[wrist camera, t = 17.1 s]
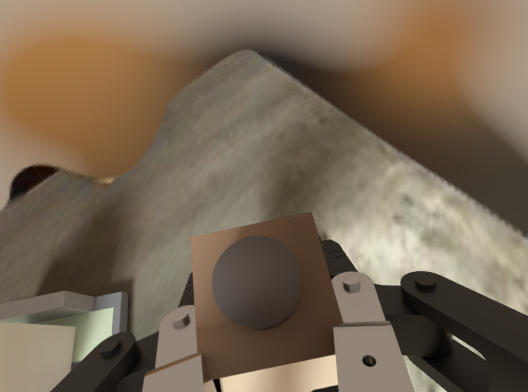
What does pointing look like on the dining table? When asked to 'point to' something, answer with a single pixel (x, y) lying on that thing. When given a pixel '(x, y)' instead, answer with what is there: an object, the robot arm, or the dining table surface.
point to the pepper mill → (262, 296)
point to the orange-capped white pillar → (34, 356)
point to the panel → (73, 316)
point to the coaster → (286, 377)
